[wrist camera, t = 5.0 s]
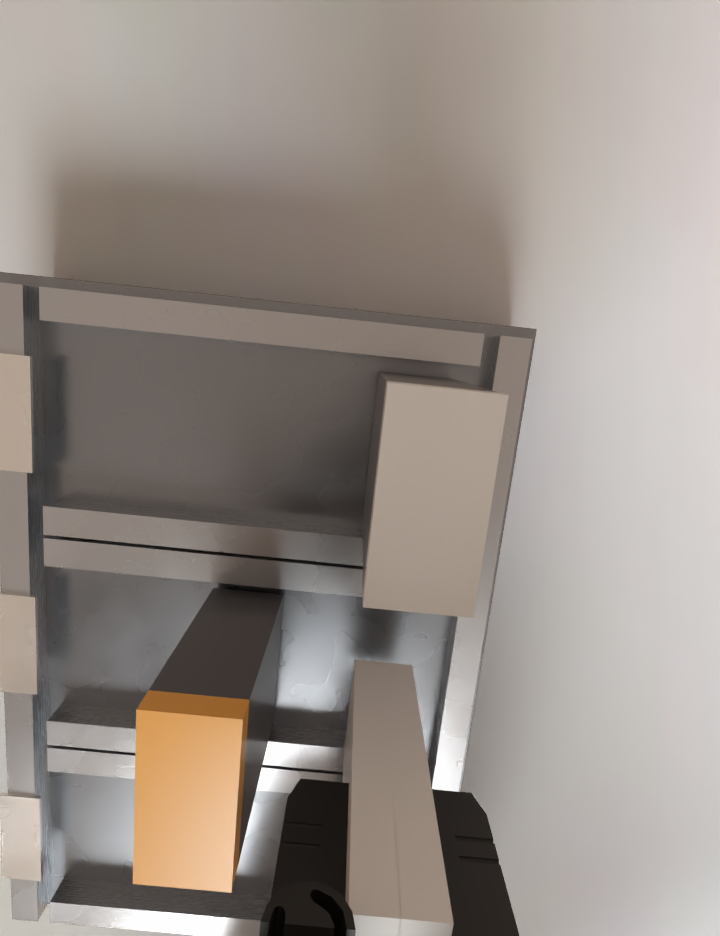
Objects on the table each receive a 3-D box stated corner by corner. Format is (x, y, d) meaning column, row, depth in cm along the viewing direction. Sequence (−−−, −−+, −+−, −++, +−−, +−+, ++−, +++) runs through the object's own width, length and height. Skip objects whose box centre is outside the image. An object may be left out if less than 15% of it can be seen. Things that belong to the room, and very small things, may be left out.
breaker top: (362, 518, 15) (362, 607, 10) (378, 371, 14) (388, 382, 9) (434, 525, 15) (473, 617, 10) (454, 379, 14) (508, 395, 9)
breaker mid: (206, 712, 16) (132, 884, 11) (213, 587, 16) (136, 709, 10) (273, 718, 16) (231, 892, 11) (283, 594, 16) (242, 719, 10)
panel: (59, 835, 21) (1, 929, 17) (52, 283, 16) (-27, 266, 13) (427, 869, 21) (439, 967, 18) (510, 332, 17) (547, 327, 13)
